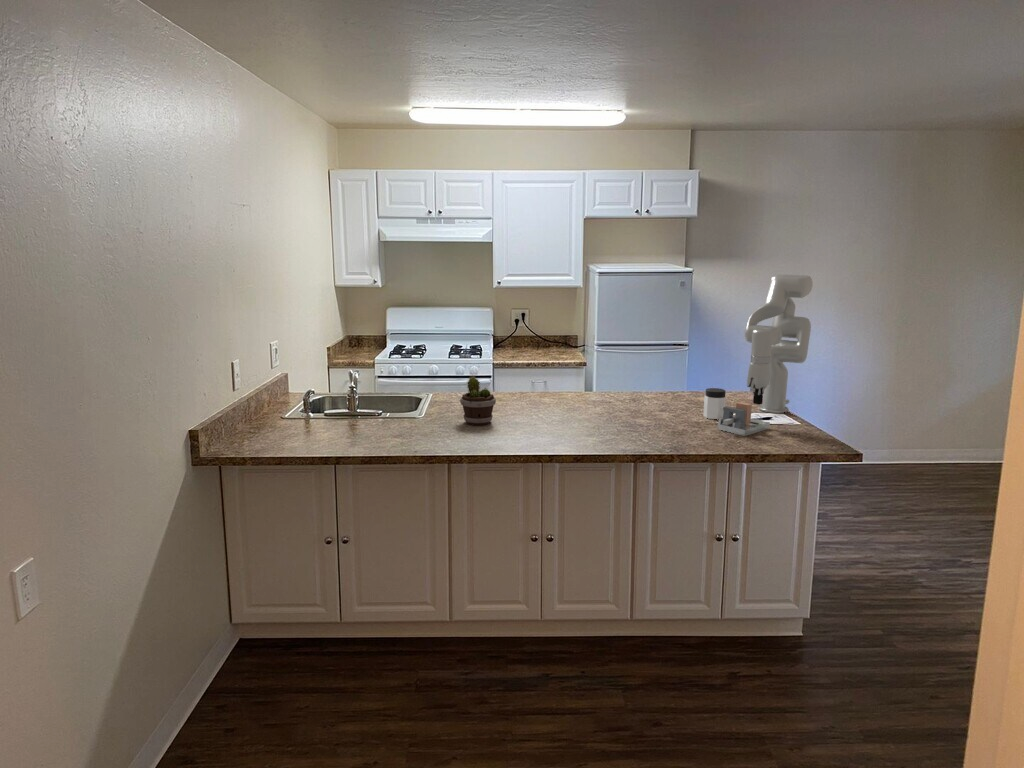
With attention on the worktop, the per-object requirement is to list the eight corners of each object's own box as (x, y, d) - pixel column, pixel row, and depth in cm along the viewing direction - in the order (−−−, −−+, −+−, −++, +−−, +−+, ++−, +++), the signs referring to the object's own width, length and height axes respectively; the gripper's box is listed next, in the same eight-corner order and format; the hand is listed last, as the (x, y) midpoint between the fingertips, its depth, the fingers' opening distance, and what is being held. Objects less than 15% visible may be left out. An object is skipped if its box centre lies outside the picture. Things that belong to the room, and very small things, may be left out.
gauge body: (743, 422, 300) (744, 400, 298) (769, 428, 291) (771, 405, 289) (717, 429, 289) (719, 406, 287) (744, 436, 280) (746, 412, 278)
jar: (714, 420, 303) (716, 392, 301) (699, 416, 310) (701, 389, 307) (728, 418, 308) (730, 390, 305) (713, 414, 314) (715, 387, 312)
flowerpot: (503, 424, 296) (503, 376, 292) (469, 429, 288) (469, 380, 284) (485, 416, 308) (485, 370, 304) (453, 421, 300) (453, 373, 296)
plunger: (740, 420, 292) (742, 401, 291) (758, 424, 286) (760, 405, 285) (718, 426, 283) (720, 407, 281) (737, 431, 277) (738, 410, 275)
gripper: (762, 355, 297) (759, 398, 302) (741, 361, 288) (739, 405, 293) (779, 358, 292) (776, 402, 296) (758, 363, 283) (755, 408, 287)
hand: (757, 403), depth 294 cm, fingers closed
